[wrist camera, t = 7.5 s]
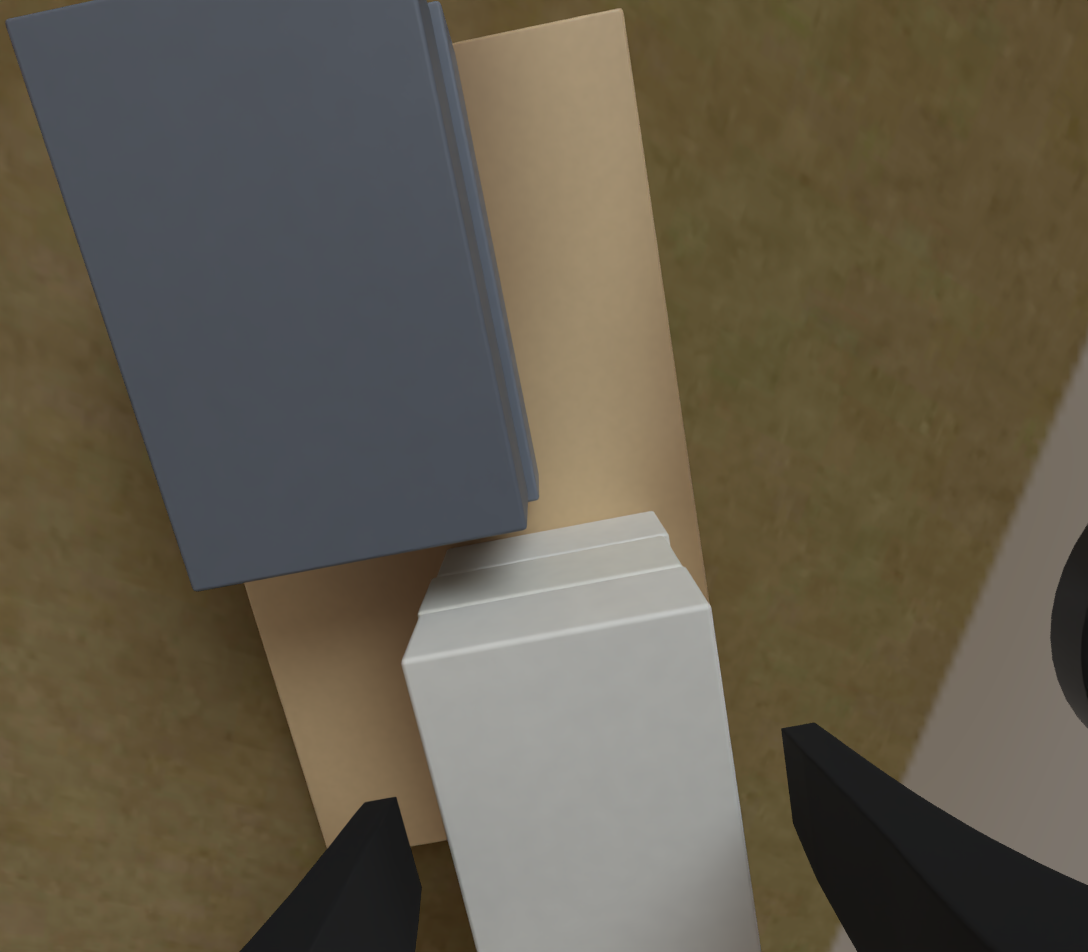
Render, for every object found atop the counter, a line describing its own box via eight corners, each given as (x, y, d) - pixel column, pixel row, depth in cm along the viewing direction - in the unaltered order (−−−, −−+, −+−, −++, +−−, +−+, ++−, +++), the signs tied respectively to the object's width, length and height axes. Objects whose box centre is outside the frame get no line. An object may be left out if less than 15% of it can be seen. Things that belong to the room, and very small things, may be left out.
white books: (653, 509, 15) (688, 562, 12) (700, 798, 17) (742, 918, 14) (442, 549, 16) (415, 613, 12) (509, 830, 17) (503, 958, 14)
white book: (686, 563, 12) (711, 603, 10) (739, 918, 14) (770, 1005, 12) (418, 613, 12) (398, 661, 10) (505, 958, 14) (501, 1050, 12)
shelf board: (617, 27, 14) (623, 5, 13) (726, 766, 18) (737, 791, 17) (125, 130, 14) (96, 116, 13) (340, 833, 18) (329, 862, 17)
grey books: (454, 51, 13) (416, -81, 9) (539, 476, 15) (541, 534, 11) (169, 112, 13) (-3, 9, 9) (288, 523, 15) (193, 599, 11)
